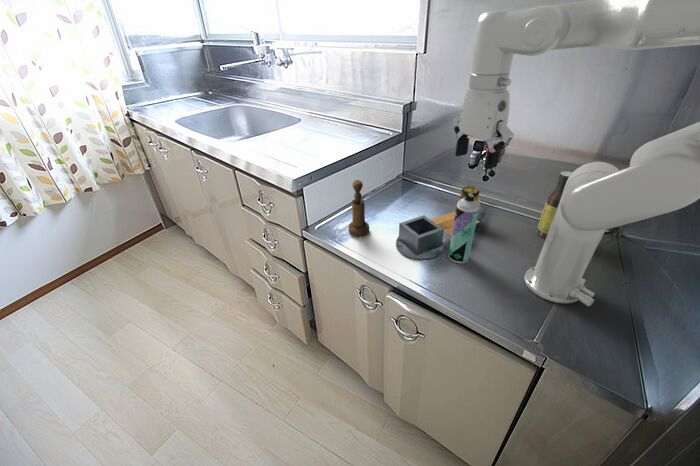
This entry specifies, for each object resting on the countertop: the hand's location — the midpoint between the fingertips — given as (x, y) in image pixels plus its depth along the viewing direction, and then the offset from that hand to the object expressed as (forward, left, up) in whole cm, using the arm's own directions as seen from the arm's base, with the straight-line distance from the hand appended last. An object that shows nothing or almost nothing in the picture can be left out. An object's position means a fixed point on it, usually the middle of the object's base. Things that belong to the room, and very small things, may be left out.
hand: (474, 161), depth 75 cm
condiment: (+12, -13, -28) cm, 33 cm away
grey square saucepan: (+9, +3, -28) cm, 30 cm away
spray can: (-1, +1, -28) cm, 28 cm away
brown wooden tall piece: (+25, +19, -28) cm, 42 cm away
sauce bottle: (-6, -30, -28) cm, 42 cm away
